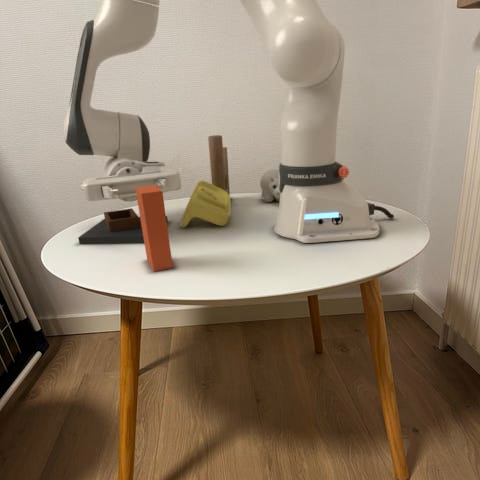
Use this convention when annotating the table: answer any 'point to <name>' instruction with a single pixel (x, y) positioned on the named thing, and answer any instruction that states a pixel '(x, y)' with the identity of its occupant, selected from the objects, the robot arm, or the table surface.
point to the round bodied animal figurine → (270, 185)
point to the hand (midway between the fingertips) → (138, 191)
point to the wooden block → (218, 163)
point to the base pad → (113, 236)
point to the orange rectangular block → (154, 227)
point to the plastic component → (208, 205)
